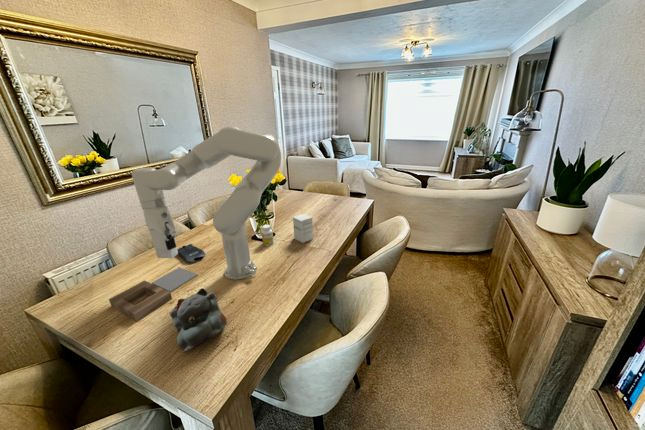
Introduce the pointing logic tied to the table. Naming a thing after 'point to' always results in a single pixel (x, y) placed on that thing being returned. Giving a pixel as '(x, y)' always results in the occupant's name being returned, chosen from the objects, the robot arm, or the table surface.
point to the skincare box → (162, 245)
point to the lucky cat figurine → (197, 319)
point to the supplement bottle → (267, 235)
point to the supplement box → (303, 228)
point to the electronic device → (190, 253)
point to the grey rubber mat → (174, 279)
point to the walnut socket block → (144, 307)
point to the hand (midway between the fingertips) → (165, 246)
